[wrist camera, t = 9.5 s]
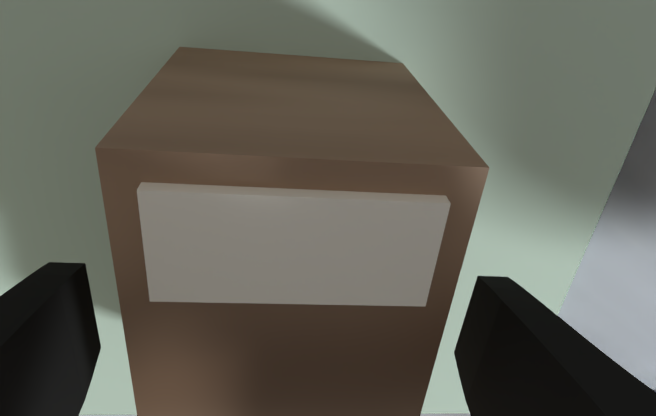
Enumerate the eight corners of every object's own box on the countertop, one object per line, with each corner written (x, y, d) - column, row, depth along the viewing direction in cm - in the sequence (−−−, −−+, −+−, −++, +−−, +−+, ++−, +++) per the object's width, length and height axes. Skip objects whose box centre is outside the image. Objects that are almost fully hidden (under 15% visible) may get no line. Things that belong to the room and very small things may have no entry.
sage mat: (704, -70, 10) (723, -69, 9) (509, 400, 17) (514, 413, 16) (-189, -176, 8) (-215, -181, 8) (9, 400, 15) (0, 414, 14)
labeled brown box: (356, 343, 14) (390, 540, 10) (196, 342, 14) (154, 548, 9) (402, 63, 10) (495, 176, 6) (179, 46, 10) (88, 154, 5)
